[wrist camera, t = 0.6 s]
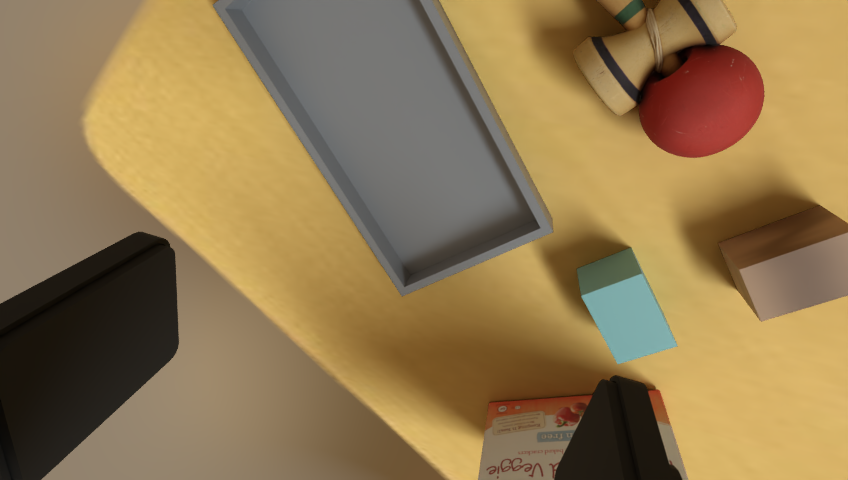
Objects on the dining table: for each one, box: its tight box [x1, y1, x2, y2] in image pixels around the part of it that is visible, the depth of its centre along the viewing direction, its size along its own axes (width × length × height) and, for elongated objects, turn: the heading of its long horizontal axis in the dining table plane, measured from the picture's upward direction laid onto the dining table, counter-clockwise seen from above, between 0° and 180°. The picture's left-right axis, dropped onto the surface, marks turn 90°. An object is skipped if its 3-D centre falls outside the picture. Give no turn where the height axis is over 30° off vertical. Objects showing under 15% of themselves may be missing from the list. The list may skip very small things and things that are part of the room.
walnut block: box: [718, 206, 848, 321], centre depth 30 cm, size 6×4×4 cm, turn 122°
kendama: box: [573, 0, 764, 158], centre depth 26 cm, size 8×6×18 cm
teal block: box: [577, 248, 677, 364], centre depth 33 cm, size 4×6×4 cm, turn 32°
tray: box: [213, 0, 553, 296], centre depth 32 cm, size 12×23×2 cm, turn 31°
